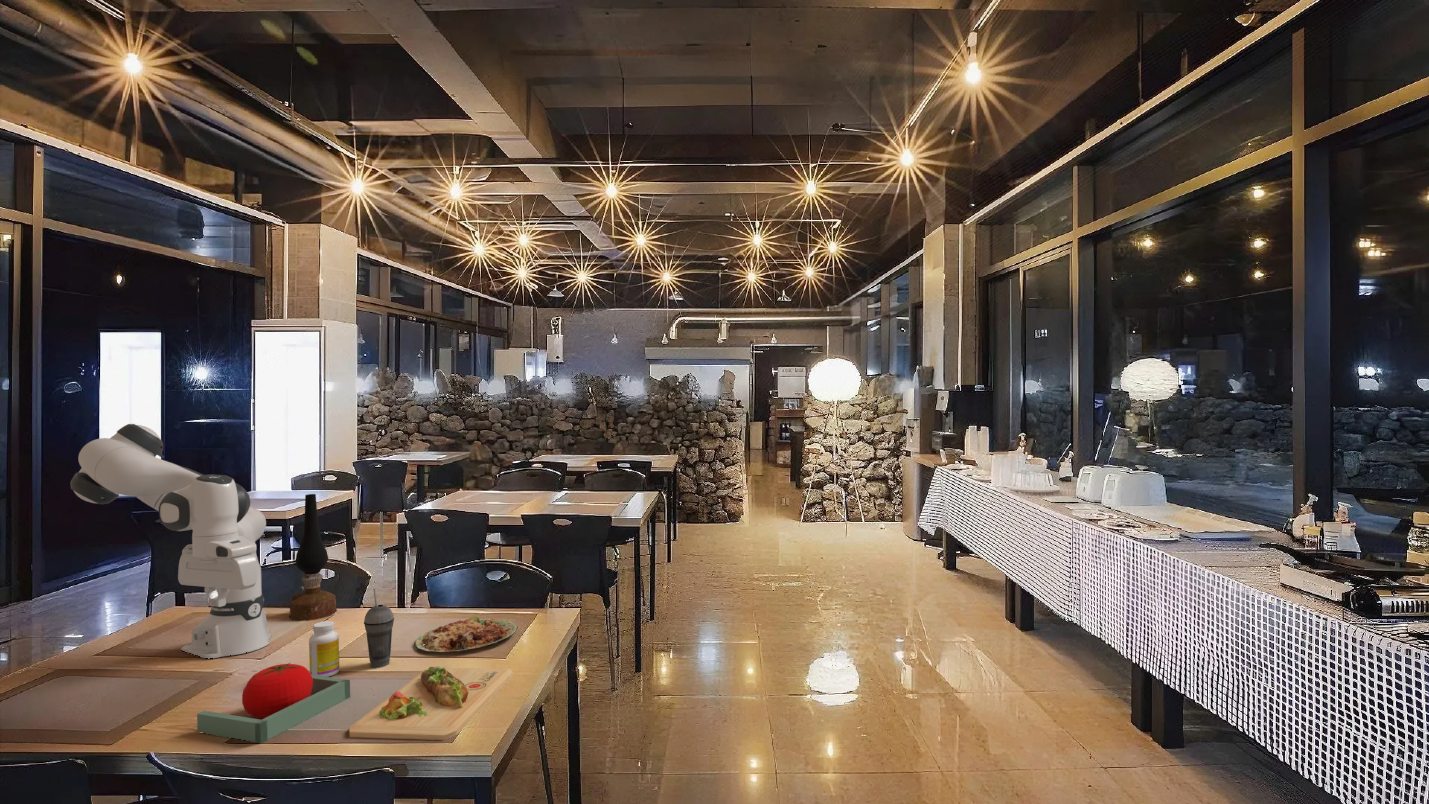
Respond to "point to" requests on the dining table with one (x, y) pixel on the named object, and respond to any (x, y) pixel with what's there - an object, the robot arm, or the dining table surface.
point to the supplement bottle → (324, 650)
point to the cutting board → (432, 704)
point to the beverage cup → (379, 633)
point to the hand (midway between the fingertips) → (217, 605)
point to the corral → (259, 731)
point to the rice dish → (466, 635)
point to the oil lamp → (311, 570)
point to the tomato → (276, 689)
